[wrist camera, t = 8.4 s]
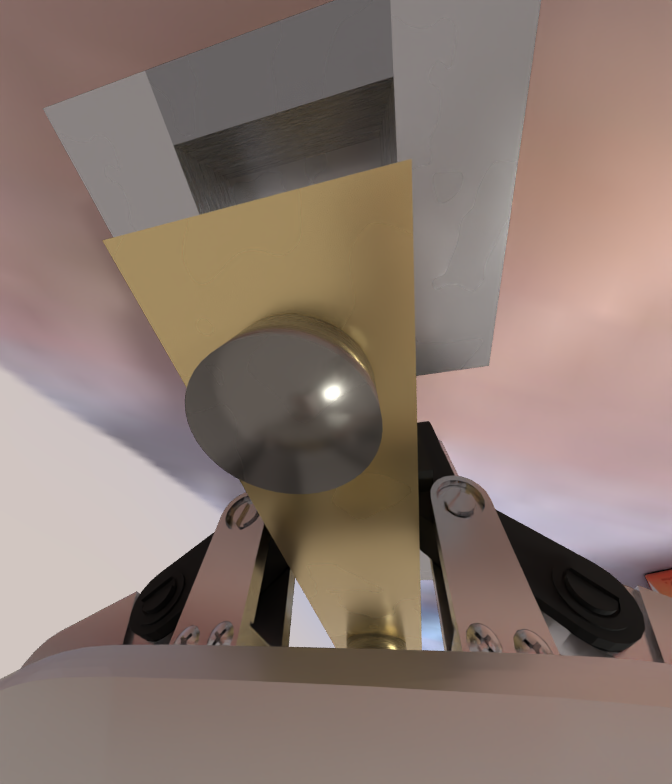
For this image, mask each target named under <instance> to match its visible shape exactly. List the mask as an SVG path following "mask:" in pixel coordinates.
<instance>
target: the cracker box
mask: <svg viewBox="0 0 672 784" xmlns="http://www.w3.org/2000/svg"><path fill="white" fill-rule="evenodd" d="M645 577H646V579H647V581H648V584H649V586H650V588H651V590H652V591H655V592H657V593H660V594H663V595H666V596H668V597H671V598H672V570H667V571H662V572H657V573H652V574H647V575H645Z"/></svg>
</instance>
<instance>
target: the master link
mask: <svg viewBox="0 0 672 784" xmlns="http://www.w3.org/2000/svg"><path fill="white" fill-rule="evenodd" d="M102 241H103V243H104V244H105V246H106V248H107V250H108V251H109V253H110V255H111V256H112V258H113V260H114V262H115V263H116V265H117V267H118V269H119V270H120V272H121V274H122V276H123V277H124V279H125V281H126V283H127V284H128V286H129V288H130V290H131V291H132V293H133V295H134V297H135V298H136V300H137V302H138V304H139V305H140V307H141V309H142V311H143V312H144V314H145V316H146V318H147V319H148V321H149V323H150V325H151V326H152V328H153V330H154V332H155V333H156V335H157V337H158V339H159V340H160V342H161V344H162V346H163V347H164V349H165V351H166V353H167V354H168V356H169V358H170V360H171V361H172V363H173V365H174V366H175V368H176V370H177V372H178V373H179V375H180V377H181V379H182V380H183V382H184V384H185V386H186V387H187V389H186V395H185V412H186V416H187V421H188V424H189V426H190V429H191V432H192V433H193V435H194V437H195V439H196V441H197V442H198V444H199V445H200V447H201V448H202V449H203V451H204V452H205V453H206V454H207V455H208V456H209V457H210V458H211V459H212V460H213V461H214V462H215V463H216V464H217V465H218V466H220V467H221V468H222V469H224V470H225V471H226V472H228V473H230V474H231V475H233V476H234V477H236V478H238V479H239V480H240V482H241V483H242V485H243V487H244V489H245V490H246V492H247V494H248V496H249V497H250V499H251V501H252V503H253V504H254V506H255V508H256V510H257V511H258V513H259V515H260V517H261V518H262V520H263V522H264V524H265V525H266V527H267V529H268V531H269V532H270V534H271V536H272V538H273V539H274V541H275V543H276V545H277V546H278V548H279V550H280V552H281V553H282V555H283V557H284V559H285V560H286V562H287V564H288V566H289V567H290V569H291V571H292V573H293V574H294V576H295V578H296V580H297V581H298V583H299V585H300V586H301V588H302V590H303V592H304V593H305V595H306V597H307V599H308V600H309V602H310V604H311V606H312V607H313V609H314V611H315V613H316V614H317V616H318V618H319V619H320V621H321V623H322V625H323V627H324V628H325V630H326V632H327V634H328V635H329V637H330V639H331V640H332V642H333V644H334V646H335V648H353V649H394V650H422V642H421V593H420V544H419V495H418V446H417V397H416V348H415V299H414V250H413V201H412V159H409V160H405V161H401V162H397V163H393V164H390V165H386V166H382V167H378V168H375V169H371V170H367V171H363V172H359V173H356V174H352V175H348V176H344V177H340V178H337V179H333V180H329V181H325V182H322V183H318V184H314V185H310V186H306V187H303V188H299V189H295V190H291V191H287V192H284V193H280V194H276V195H272V196H269V197H265V198H261V199H257V200H253V201H250V202H246V203H242V204H238V205H234V206H231V207H227V208H223V209H219V210H216V211H212V212H208V213H204V214H200V215H197V216H193V217H189V218H185V219H182V220H178V221H174V222H170V223H166V224H163V225H159V226H155V227H151V228H147V229H144V230H140V231H136V232H132V233H129V234H125V235H121V236H117V237H113V238H110V239H106V240H102Z"/></svg>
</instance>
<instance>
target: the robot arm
mask: <svg viewBox="0 0 672 784" xmlns="http://www.w3.org/2000/svg"><path fill="white" fill-rule="evenodd" d="M417 446H418V495H419V544H420V550H421V551H422V552H423V553H424V554H426V555H427V556H428V557H429V558H430V564H431V570H432V576H433V582H434V588H435V595H436V601H437V607H438V613H439V619H440V625H441V632H442V638H443V644H444V650H445V651H428V650H394V649H353V648H311V647H289V636H290V625H291V615H292V605H293V594H294V584H295V576H294V574H293V573H292V571H291V569H290V567H289V566H288V564H287V562H286V560H285V559H284V557H283V555H282V553H281V552H280V550H279V548H278V546H277V545H276V543H275V541H274V539H273V538H272V536H271V534H270V532H269V531H268V529H267V527H266V525H265V524H264V522H263V520H262V518H261V517H260V515H259V513H258V511H257V510H256V508H255V506H254V504H253V503H252V501H251V499H250V497H249V496H248V494H247V492H246V493H243V494H241V495H239V496H238V497H236V498H235V499H234V500H233V501H231V502H230V503H229V505H228V506H227V507H226V508H225V510H224V512H223V513H222V515H221V518H220V520H219V523H218V525H217V528H216V530H215V532H214V533H213V534H211V535H210V536H209V537H207V538H206V539H205V540H203V541H202V542H201V543H199V544H198V545H197V546H195V547H194V548H193V549H191V550H190V551H189V552H188V553H186V554H185V555H184V556H182V557H181V558H179V559H178V560H177V561H176V562H174V563H173V564H171V565H170V566H169V567H167V568H166V569H165V570H163V571H162V572H161V573H160V574H158V575H157V576H156V577H155V578H154V579H153V580H151V581H150V582H149V584H148V585H147V586H146V587H145V588H144V590H143V591H142V592H141V594H139V593H138V592H135V593H133V594H131V595H129V596H127V597H125V598H123V599H121V600H119V601H117V602H116V603H113V604H112V605H110V606H108V607H106V608H104V609H102V610H100V611H98V612H96V613H95V614H92V615H91V616H89V617H87V618H85V619H83V620H81V621H79V622H77V623H75V624H74V625H71V626H70V627H68V628H66V629H64V630H62V631H60V632H59V633H57V634H56V635H54V636H52V637H51V638H49V639H48V640H47V641H46V642H45V643H43V644H42V645H41V646H40V647H39V648H38V649H37V650H36V651H35V652H34V653H33V654H32V655H31V657H30V658H29V659H28V660H27V661H26V662H25V663H24V665H23V666H22V668H21V669H19V670H17V671H15V672H13V673H11V674H10V675H8V676H6V677H4V678H2V679H0V784H672V598H671V597H668V596H666V595H663V594H660V593H657V592H655V591H652V590H649V589H647V588H644V587H641V586H638V585H637V587H636V588H635V589H633V588H631V587H628V586H625V585H623V584H621V583H620V582H619V581H618V580H617V579H616V578H615V577H613V576H612V575H611V574H610V573H609V572H607V571H606V570H604V569H602V568H601V567H599V566H598V565H596V564H595V563H593V562H591V561H589V560H587V559H586V558H584V557H582V556H580V555H578V554H576V553H575V552H573V551H571V550H569V549H567V548H565V547H564V546H562V545H560V544H558V543H556V542H554V541H553V540H551V539H549V538H547V537H545V536H543V535H542V534H540V533H538V532H536V531H534V530H532V529H530V528H529V527H527V526H525V525H523V524H521V523H519V522H518V521H516V520H514V519H512V518H510V517H508V516H507V515H505V514H503V513H501V512H499V511H497V510H496V509H495V508H494V505H493V503H492V501H491V499H490V497H489V495H488V494H487V492H486V491H485V490H484V489H483V488H482V487H481V486H480V485H479V484H477V483H475V482H474V481H472V480H470V479H467V478H464V477H461V476H455V475H454V472H453V470H452V468H451V466H450V464H449V462H448V460H447V457H446V455H445V453H444V451H443V449H442V447H441V445H440V442H439V440H438V438H437V436H436V434H435V432H434V430H433V427H432V425H431V424H430V422H429V421H427V422H418V423H417Z"/></svg>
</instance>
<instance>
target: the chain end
mask: <svg viewBox="0 0 672 784" xmlns="http://www.w3.org/2000/svg"><path fill="white" fill-rule="evenodd" d="M540 5H541V0H334V1H332V2H329V3H326V4H324V5H321V6H318V7H315V8H313V9H310V10H307V11H305V12H302V13H299V14H297V15H294V16H291V17H288V18H286V19H283V20H280V21H278V22H275V23H272V24H270V25H267V26H264V27H261V28H259V29H256V30H253V31H251V32H248V33H245V34H243V35H240V36H237V37H234V38H232V39H229V40H226V41H224V42H221V43H218V44H216V45H213V46H210V47H207V48H205V49H202V50H199V51H197V52H194V53H191V54H189V55H186V56H183V57H180V58H178V59H175V60H172V61H170V62H167V63H164V64H162V65H159V66H156V67H153V68H151V69H148V70H145V71H143V72H140V73H137V74H135V75H132V76H129V77H126V78H124V79H121V80H118V81H116V82H113V83H110V84H108V85H105V86H102V87H99V88H97V89H94V90H91V91H89V92H86V93H83V94H81V95H78V96H75V97H72V98H70V99H67V100H64V101H62V102H59V103H56V104H54V105H51V106H48V107H45V108H43V110H44V112H45V113H46V115H47V117H48V119H49V121H50V123H51V124H52V126H53V128H54V130H55V132H56V134H57V135H58V137H59V139H60V141H61V143H62V145H63V146H64V148H65V150H66V152H67V154H68V156H69V157H70V159H71V161H72V163H73V165H74V166H75V168H76V170H77V172H78V174H79V176H80V177H81V179H82V181H83V183H84V185H85V187H86V188H87V190H88V192H89V194H90V196H91V198H92V199H93V201H94V203H95V205H96V207H97V209H98V210H99V212H100V214H101V216H102V218H103V220H104V221H105V223H106V225H107V227H108V229H109V231H110V232H111V234H112V236H113V237H117V236H121V235H125V234H129V233H132V232H136V231H140V230H144V229H147V228H151V227H155V226H159V225H163V224H166V223H170V222H174V221H178V220H182V219H185V218H189V217H193V216H197V215H200V214H204V213H208V212H212V211H216V210H219V209H223V208H227V207H231V206H234V205H238V204H242V203H246V202H250V201H253V200H257V199H261V198H265V197H269V196H272V195H276V194H280V193H284V192H287V191H291V190H295V189H299V188H303V187H306V186H310V185H314V184H318V183H322V182H325V181H329V180H333V179H337V178H340V177H344V176H348V175H352V174H356V173H359V172H363V171H367V170H371V169H375V168H378V167H382V166H386V165H390V164H393V163H397V162H401V161H405V160H409V159H412V201H413V250H414V299H415V348H416V376H418V375H426V374H433V373H440V372H447V371H454V370H462V369H469V368H476V367H483V366H489V361H490V354H491V347H492V340H493V333H494V326H495V319H496V312H497V305H498V298H499V291H500V284H501V277H502V270H503V263H504V256H505V249H506V242H507V235H508V228H509V221H510V214H511V207H512V200H513V193H514V186H515V179H516V172H517V165H518V158H519V151H520V144H521V137H522V130H523V123H524V116H525V109H526V102H527V95H528V88H529V82H530V75H531V68H532V61H533V54H534V47H535V40H536V33H537V26H538V19H539V12H540Z"/></svg>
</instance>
